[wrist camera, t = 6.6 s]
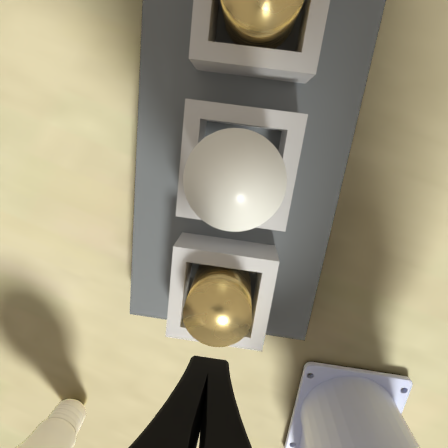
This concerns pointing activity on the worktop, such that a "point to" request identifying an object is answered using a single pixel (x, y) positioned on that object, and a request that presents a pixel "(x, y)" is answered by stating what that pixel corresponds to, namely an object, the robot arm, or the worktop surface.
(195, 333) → the brass knob
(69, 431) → the lightbulb
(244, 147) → the white middle knob
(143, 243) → the knob mount
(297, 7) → the brass knob
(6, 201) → the worktop surface
